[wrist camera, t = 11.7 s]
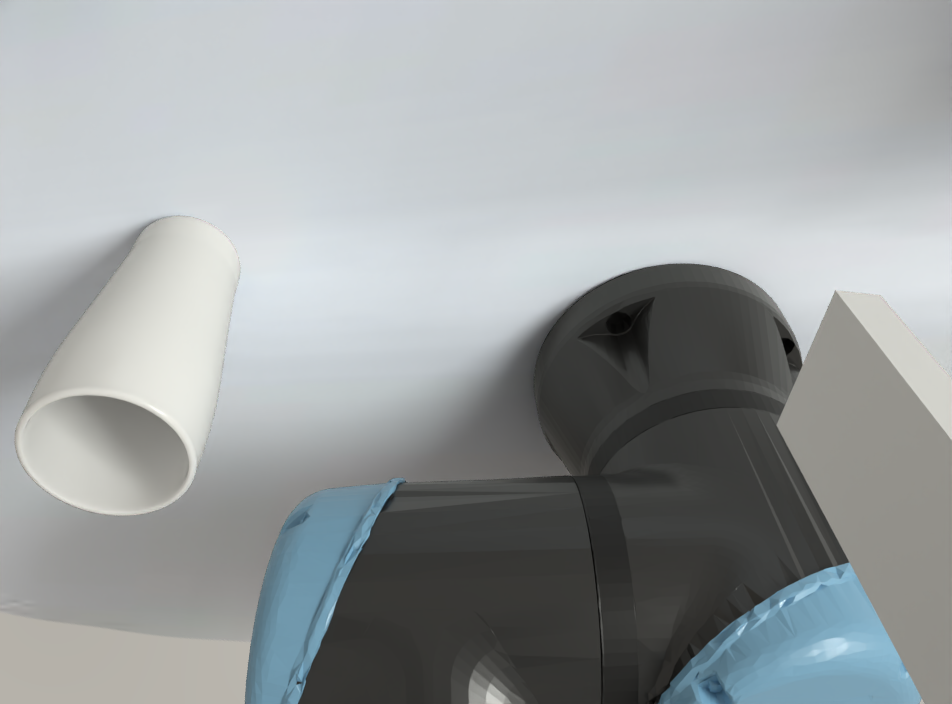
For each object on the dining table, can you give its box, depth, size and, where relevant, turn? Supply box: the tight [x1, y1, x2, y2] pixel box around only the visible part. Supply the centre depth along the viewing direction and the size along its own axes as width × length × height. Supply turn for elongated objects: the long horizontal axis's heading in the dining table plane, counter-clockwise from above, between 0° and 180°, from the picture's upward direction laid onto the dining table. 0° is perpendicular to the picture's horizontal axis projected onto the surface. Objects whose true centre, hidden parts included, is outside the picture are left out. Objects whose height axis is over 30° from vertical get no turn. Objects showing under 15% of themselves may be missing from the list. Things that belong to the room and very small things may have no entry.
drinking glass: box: [15, 216, 241, 516], centre depth 39 cm, size 7×7×15 cm
